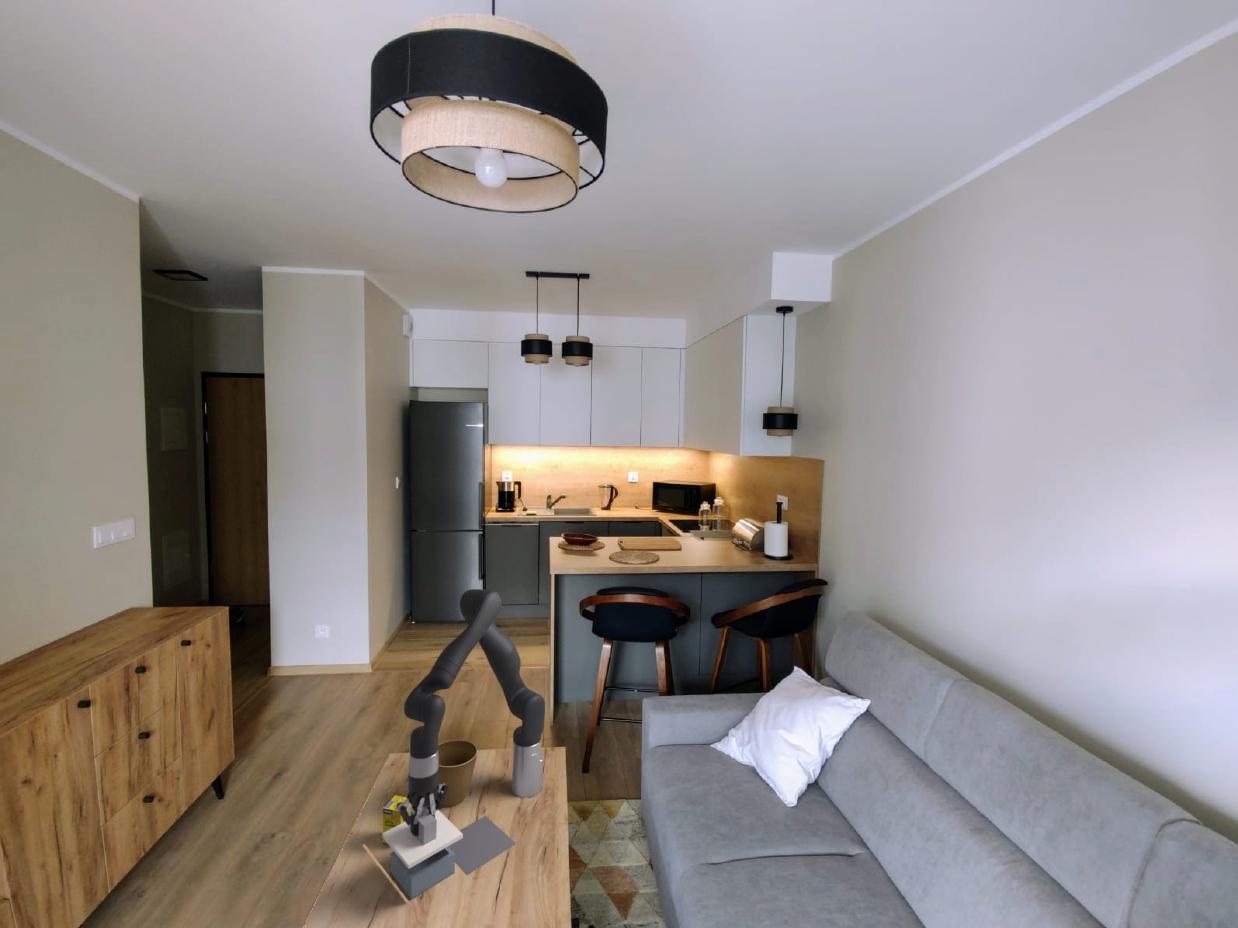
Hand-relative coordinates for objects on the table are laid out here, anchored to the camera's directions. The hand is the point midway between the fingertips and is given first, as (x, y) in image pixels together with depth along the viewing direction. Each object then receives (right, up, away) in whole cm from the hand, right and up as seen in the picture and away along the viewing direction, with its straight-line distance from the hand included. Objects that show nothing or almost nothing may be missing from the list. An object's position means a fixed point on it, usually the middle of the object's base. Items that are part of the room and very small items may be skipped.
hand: (422, 830), depth 144 cm
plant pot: (-1, -11, +30) cm, 32 cm away
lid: (0, -2, 0) cm, 2 cm away
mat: (+11, -12, +12) cm, 20 cm away
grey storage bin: (0, -12, +1) cm, 12 cm away
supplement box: (-12, -11, +13) cm, 21 cm away
